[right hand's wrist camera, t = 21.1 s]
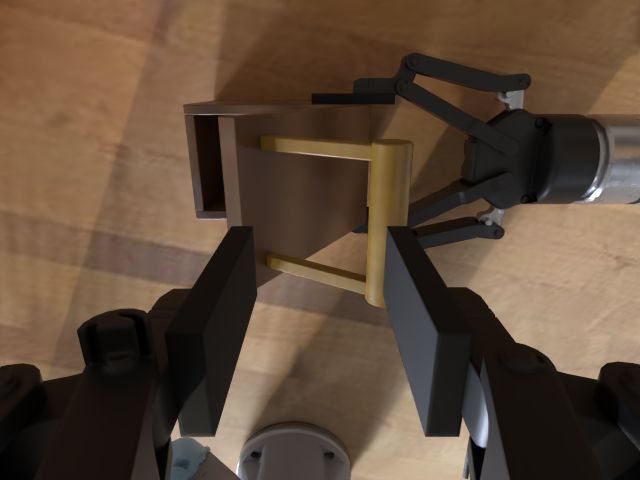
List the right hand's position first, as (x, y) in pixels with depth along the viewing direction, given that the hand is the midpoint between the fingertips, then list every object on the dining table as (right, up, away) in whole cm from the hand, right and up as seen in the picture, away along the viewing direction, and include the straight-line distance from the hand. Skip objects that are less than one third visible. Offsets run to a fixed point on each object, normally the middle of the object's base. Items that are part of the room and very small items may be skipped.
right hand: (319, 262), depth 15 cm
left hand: (-1, +8, +20) cm, 22 cm away
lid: (-1, +5, +12) cm, 13 cm away
